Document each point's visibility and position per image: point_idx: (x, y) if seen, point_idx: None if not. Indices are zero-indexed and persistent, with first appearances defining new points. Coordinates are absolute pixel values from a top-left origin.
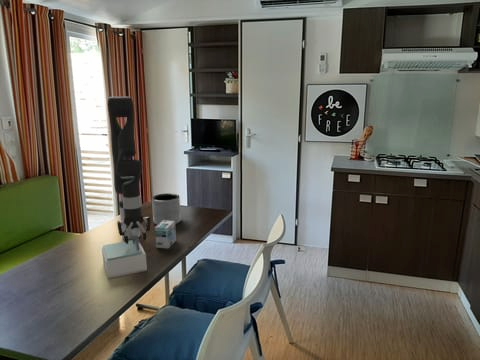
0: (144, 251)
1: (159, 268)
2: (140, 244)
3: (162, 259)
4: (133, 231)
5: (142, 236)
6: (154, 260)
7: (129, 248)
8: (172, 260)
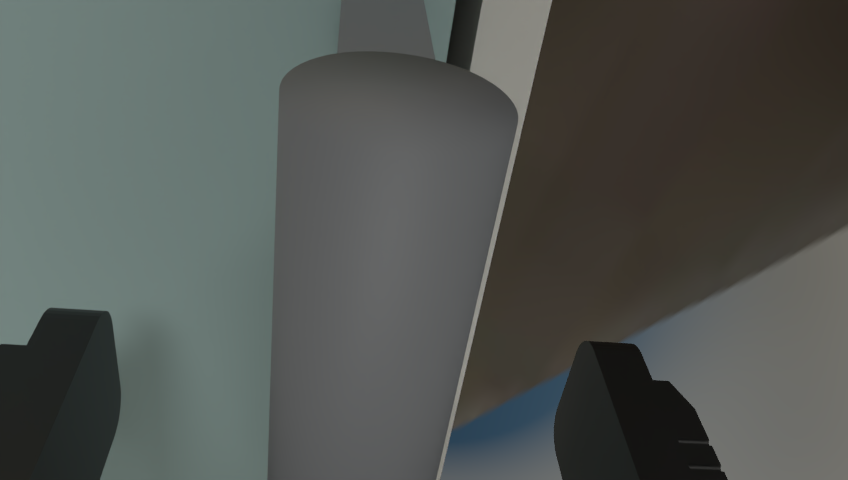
0: (441, 466)
1: (565, 328)
2: (518, 133)
3: (750, 124)
4: (378, 377)
5: (607, 427)
6: (639, 88)
7: (168, 332)
8: (825, 225)
